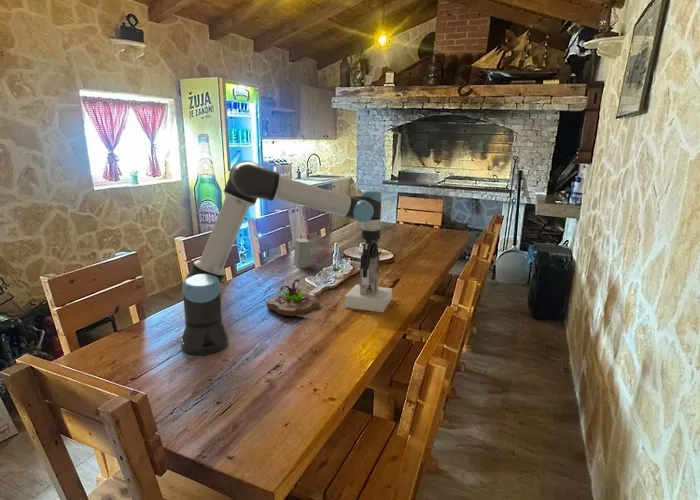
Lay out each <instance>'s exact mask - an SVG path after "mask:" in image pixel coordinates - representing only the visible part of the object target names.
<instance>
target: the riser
mask: <svg viewBox="0 0 700 500" xmlns="http://www.w3.org/2000/svg"><path fill="white" fill-rule="evenodd" d="M392 299H393V287H385V286H384V287H381V286H378V290H377V292H376V294H375V295H363V294H360V284H356V283H355V285H354V286H353V287H352V288H351V289H350V290H349V291H348V292H347V293H346V294H345V295H344V308H347V309H352V310H353V309H354V310H362V311H370V312H378V313H384V312H385V310H386V309H387V307H388V306H389V304H390V303H391V302H392Z"/></svg>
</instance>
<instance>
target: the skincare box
mask: <svg viewBox="0 0 700 500" xmlns="http://www.w3.org/2000/svg"><path fill="white" fill-rule="evenodd" d="M311 245H312V244H311V241H310V240H309V239H307V238H306V237H305V238H295V239H294V255H293V265H294V266H295V267H296V268H297V269H305V268H310V264H311V261H310V260H311Z"/></svg>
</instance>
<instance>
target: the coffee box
mask: <svg viewBox="0 0 700 500" xmlns="http://www.w3.org/2000/svg"><path fill="white" fill-rule="evenodd" d="M379 258H380V252H379V251H378V252H373V254H372V255H371V257H370V263H369V285H362V269H360V267H361V264H360V266H359V269H360V270H359V271H360V273H359V274H360V275H359V276H360V277H359V278H360V279H359V283H360V284H359V285H360V294H363V295H375V294H376V292H377V290H378V287H379V276H380V275H379V270H380V259H379ZM361 261H362V255H361V256H360V262H361Z"/></svg>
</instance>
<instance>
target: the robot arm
mask: <svg viewBox="0 0 700 500" xmlns="http://www.w3.org/2000/svg"><path fill="white" fill-rule="evenodd" d="M228 174H229V175H228V180H227V182H226V184H225V186H224V189H223V194H224V196H225V199H224V201H223V203H222V206H221V208H220V211H219V213H218V216H217V217H216V220H215V223H214V225H213V227H212V229H211V232H210V234H209V237H208V239H207V241H206V244H205V246H204V249H203V251H202V253H201V256H200V258H199V259H196V260H194V261H193V264H192V266H191V269H190V271H189V272H188V274H187V275H186V277H185V279H184V281H183V283H182V289H181V292H182V296H183V310H184V321H185V322H184V323H185V327H184V331H183V333H182V339H181V342H180V343H181V350H182V351H183V352H184V353H186V354H189V355H194V356H203V355H205V356H206V355H210V354H213V353H217V352H220V351H222V350H223V349H225V348H226V347H227V346H228V344H229V335H228V333H227V331H226V328H225V325H224V322H223V316H222V315H223V313H222V299H221V298H222V295H221V291H222V286H221V285H222V283H223V281H224V278H225V275H226V270H225V269H224V266H225V265H226V263H227V260H228V257H229V255H230V252H231V251H232V248H233V246H234V243H235V241H236V240H237V237H238V234H239V232H240V229H241V226H242V224H243V222H244V219H245V217H246V215H247V212H248V211H249V208H250V207H252V206H255V205H256V202H257V200H258V199H262V200H268V201H270V202H271V201H272V202H274V201H275V200H279V201H283V202H285V203H286V202H287V203H290V204H294V205H298V206H302V207H306V208H311V209H312V210H313V209H314V210H318V211H321V212H325V213H328V214H332V215H334V216H337V217H339V216H340V217H345V218H347V219H352V220H354V221H356V222H360V223H361V229H362V230H361V239H363V240H365V243H363V245H362V246H363V247H362V254H361V256H362V261H361V260H360V265H361V267H360V266H359V269H362V285H369V263H370V257H371V255H372V254H373V252H379V244H378V241H379V240H380V239H381V225H382V224H383V222H382V221H381V219H382V218H381V217H382V204H383V203H382V201H383V200H382V192H381V191H380V190H376V189H375V190H374V189H366V190H363V191H362V195H346V194H343V193H341V192H335V191H332V190H328V189H325V188H323V187H318V186H315V185H311V184H307V183H304V182H300V181H298V180H294V179H290V178H287V177H283V176H282V175H281V173H280V172H278V171H273V170H271V169H270V168H266V167H264V166H262V165H261V164H258V163H257V162H254V161H250V160H241V161H238V162H236V163H235V164H234V165H233V166H232V167H231V169H230V171H229V173H228ZM379 260H381V259H380V257H379Z"/></svg>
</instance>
